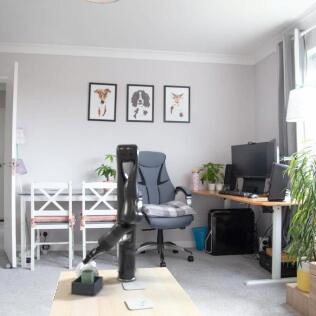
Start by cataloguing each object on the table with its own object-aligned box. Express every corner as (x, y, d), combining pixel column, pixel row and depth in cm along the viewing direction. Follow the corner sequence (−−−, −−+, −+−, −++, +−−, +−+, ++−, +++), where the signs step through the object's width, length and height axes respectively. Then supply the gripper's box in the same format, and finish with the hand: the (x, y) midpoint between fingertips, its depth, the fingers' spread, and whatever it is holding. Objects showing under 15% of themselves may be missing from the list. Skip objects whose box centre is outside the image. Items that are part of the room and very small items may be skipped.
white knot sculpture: (78, 275, 191) (78, 259, 191) (100, 275, 192) (100, 259, 192) (74, 282, 180) (75, 265, 180) (98, 282, 181) (98, 265, 181)
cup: (84, 287, 172) (84, 268, 173) (95, 288, 171) (95, 269, 172) (79, 291, 167) (79, 272, 167) (90, 292, 166) (91, 273, 166)
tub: (80, 285, 176) (81, 274, 176) (102, 287, 174) (102, 276, 174) (71, 294, 164) (71, 282, 165) (94, 296, 162) (94, 284, 163)
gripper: (111, 230, 174) (90, 251, 177) (98, 236, 160) (75, 258, 163) (120, 242, 172) (99, 262, 175) (108, 248, 158) (85, 271, 162)
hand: (88, 260), depth 169 cm, fingers open, 8 cm apart
